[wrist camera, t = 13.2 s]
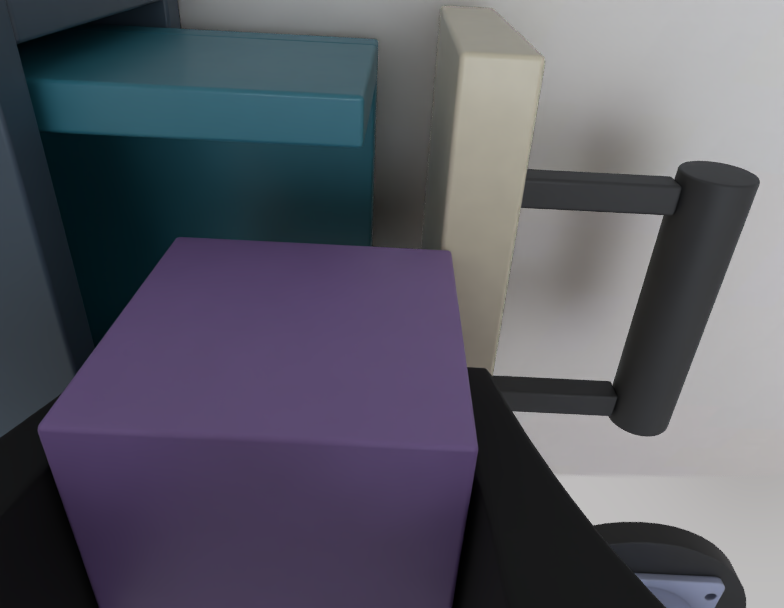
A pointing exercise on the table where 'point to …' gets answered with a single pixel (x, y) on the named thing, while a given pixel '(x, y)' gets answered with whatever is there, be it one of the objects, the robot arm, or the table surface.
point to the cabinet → (42, 215)
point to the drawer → (359, 179)
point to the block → (273, 432)
